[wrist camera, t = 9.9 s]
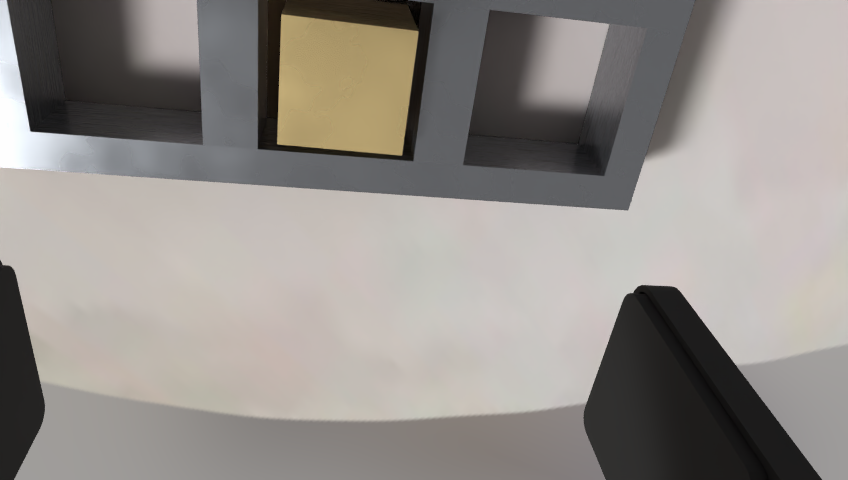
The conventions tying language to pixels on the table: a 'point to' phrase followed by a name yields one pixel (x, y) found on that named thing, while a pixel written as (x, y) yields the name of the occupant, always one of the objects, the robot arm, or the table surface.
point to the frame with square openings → (339, 169)
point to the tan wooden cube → (345, 74)
